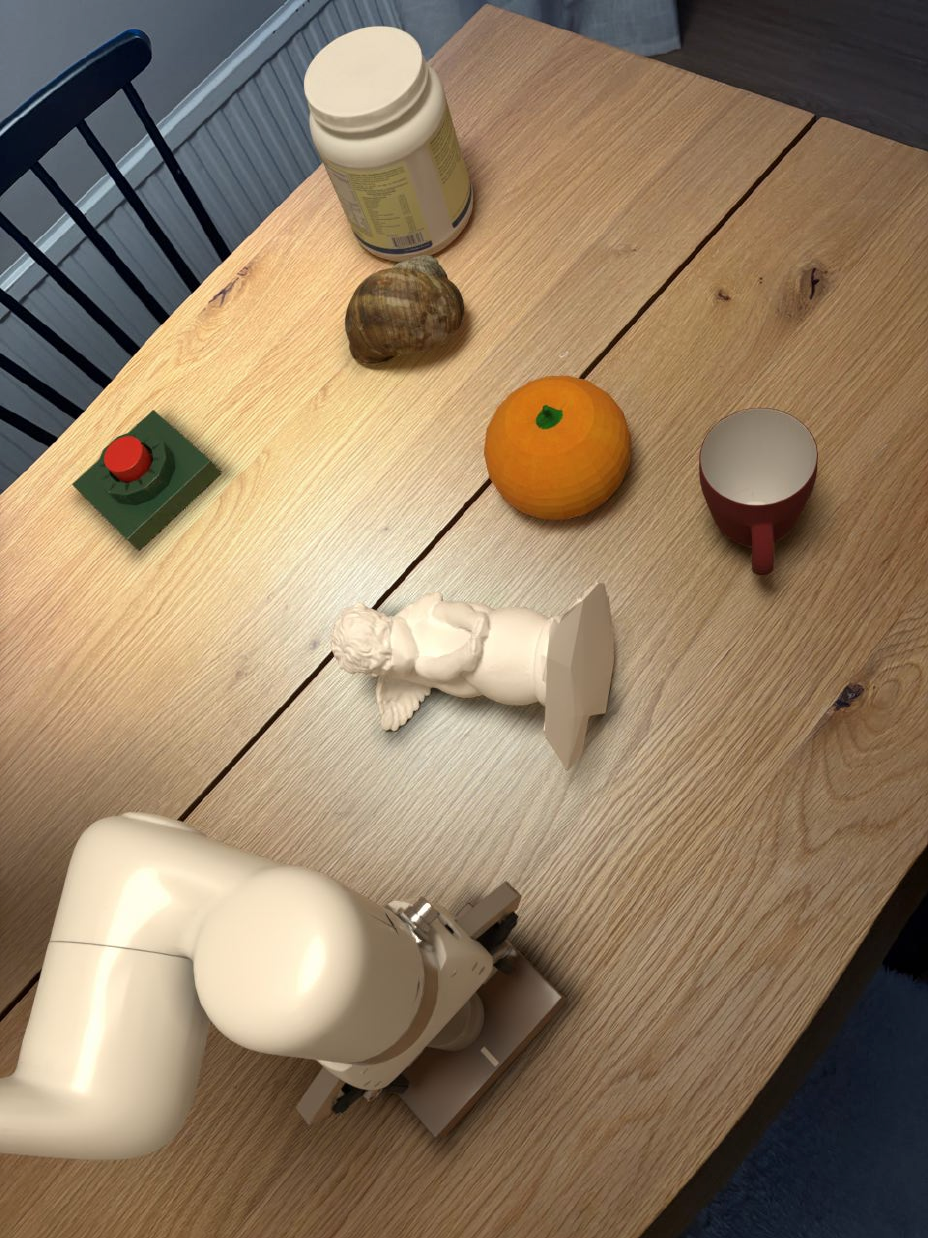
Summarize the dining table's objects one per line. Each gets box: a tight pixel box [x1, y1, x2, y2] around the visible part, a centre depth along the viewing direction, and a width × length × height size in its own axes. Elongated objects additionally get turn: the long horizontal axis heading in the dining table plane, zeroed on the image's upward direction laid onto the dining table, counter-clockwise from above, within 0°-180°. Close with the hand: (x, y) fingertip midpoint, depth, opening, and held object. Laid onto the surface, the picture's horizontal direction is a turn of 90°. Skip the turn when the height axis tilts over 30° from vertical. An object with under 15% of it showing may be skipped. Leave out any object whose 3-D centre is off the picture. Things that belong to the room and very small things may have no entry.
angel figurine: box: [329, 581, 615, 772], centre depth 80 cm, size 14×20×12 cm
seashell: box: [344, 255, 465, 366], centre depth 97 cm, size 11×9×8 cm
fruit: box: [483, 375, 632, 520], centre depth 86 cm, size 12×12×10 cm
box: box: [72, 409, 222, 551], centre depth 98 cm, size 10×9×4 cm
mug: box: [698, 407, 819, 577], centre depth 80 cm, size 11×8×10 cm
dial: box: [427, 992, 484, 1051], centre depth 71 cm, size 4×4×5 cm
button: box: [104, 436, 152, 482], centre depth 96 cm, size 4×4×2 cm
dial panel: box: [395, 901, 568, 1139], centre depth 74 cm, size 12×9×3 cm
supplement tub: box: [303, 25, 474, 263], centre depth 98 cm, size 12×12×17 cm
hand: (444, 1012), depth 70 cm, fingers open, 9 cm apart
